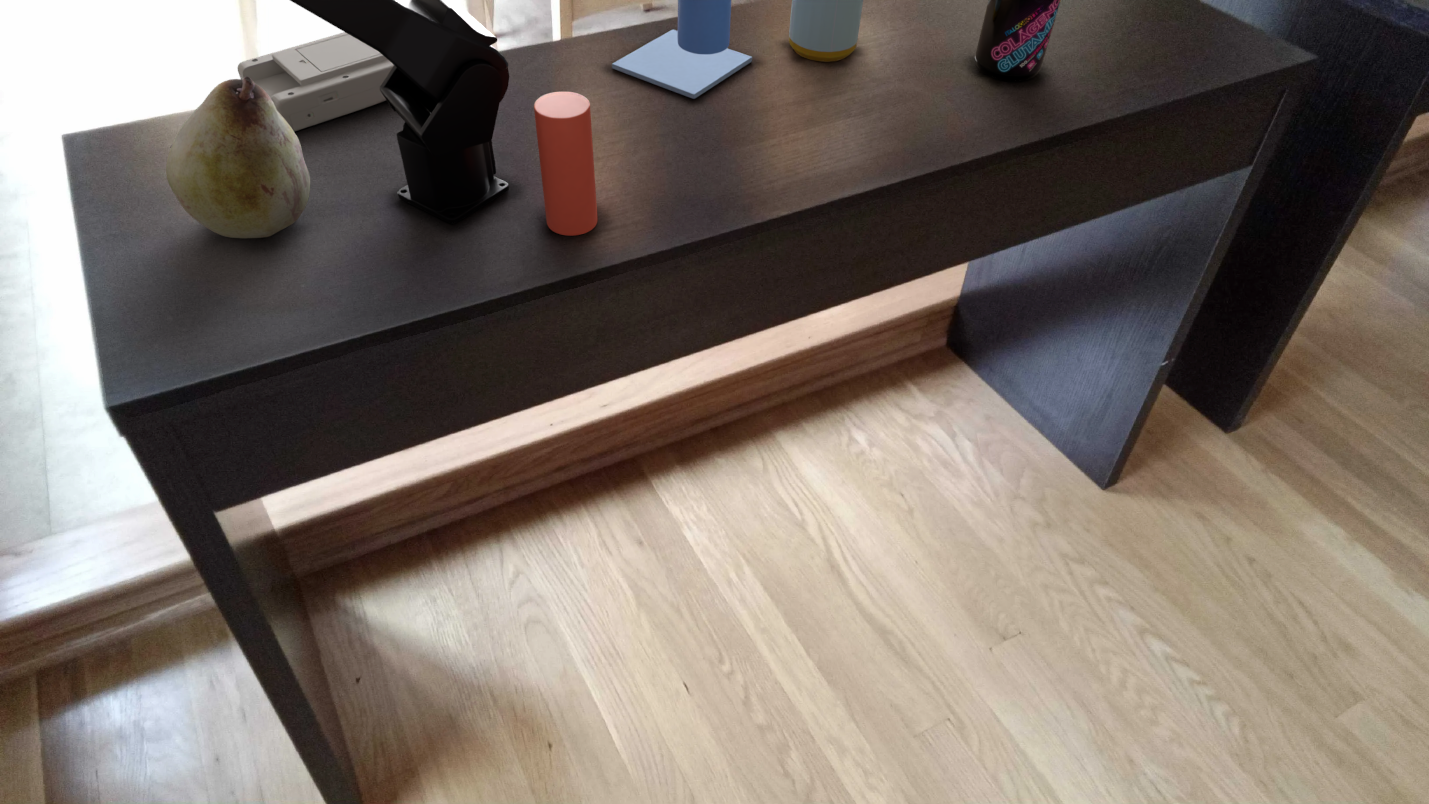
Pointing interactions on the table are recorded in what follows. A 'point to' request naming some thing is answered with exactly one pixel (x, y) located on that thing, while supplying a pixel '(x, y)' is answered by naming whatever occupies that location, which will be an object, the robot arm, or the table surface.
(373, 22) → the robot arm
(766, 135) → the table surface
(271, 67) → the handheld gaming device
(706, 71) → the blue mat
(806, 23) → the bottle
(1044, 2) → the supplement container
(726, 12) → the blue peg
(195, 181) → the fruit
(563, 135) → the red peg
